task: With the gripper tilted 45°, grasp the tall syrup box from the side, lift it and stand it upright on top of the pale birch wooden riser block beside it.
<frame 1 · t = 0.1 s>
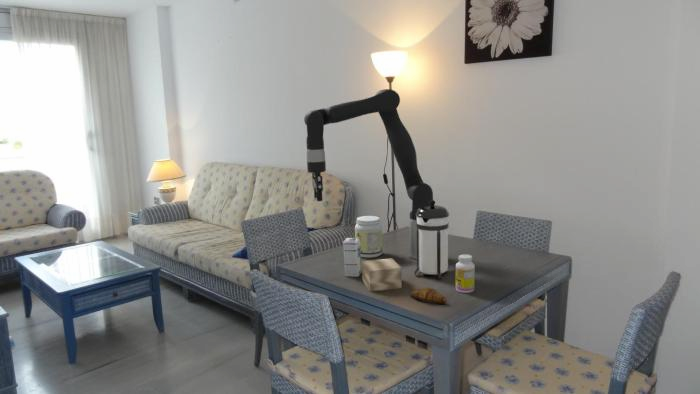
hand: (318, 199, 209), 29 cm above the table, tool pointing down, fingers open, 8 cm apart
coffee press: (432, 273, 202), on the table
syrup box: (352, 274, 203), on the table
supplement tub: (368, 254, 229), on the table
supplement bottle: (464, 290, 182), on the table
riser block: (381, 284, 191), on the table
croissant: (428, 301, 174), on the table
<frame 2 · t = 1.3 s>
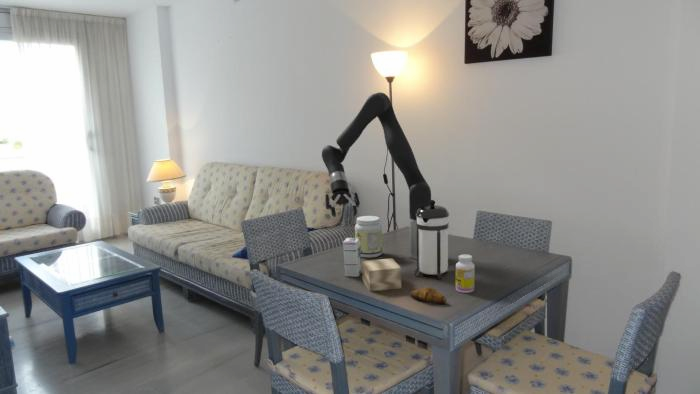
hand: (344, 215, 210), 22 cm above the table, tool tilted 45°, fingers open, 8 cm apart
nothing on the table moved.
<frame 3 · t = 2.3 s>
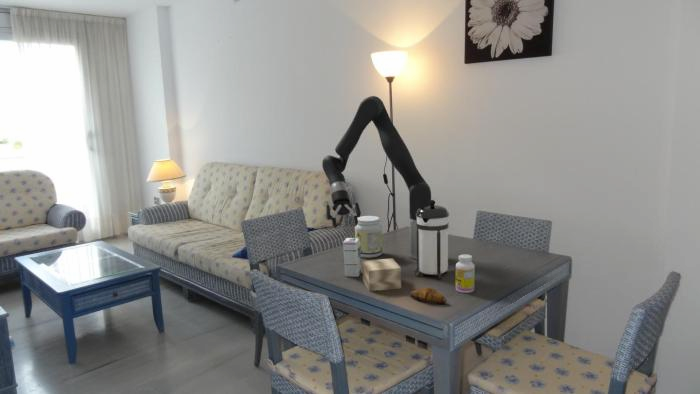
hand: (346, 226, 210), 18 cm above the table, tool tilted 45°, fingers open, 8 cm apart
nothing on the table moved.
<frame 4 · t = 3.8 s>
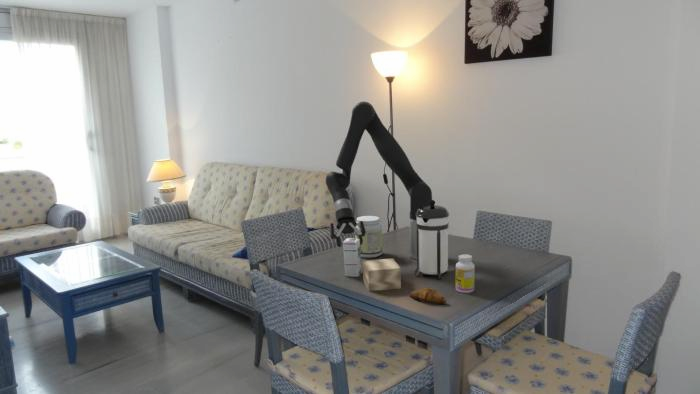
hand: (350, 245, 203), 11 cm above the table, tool tilted 45°, fingers open, 8 cm apart
nothing on the table moved.
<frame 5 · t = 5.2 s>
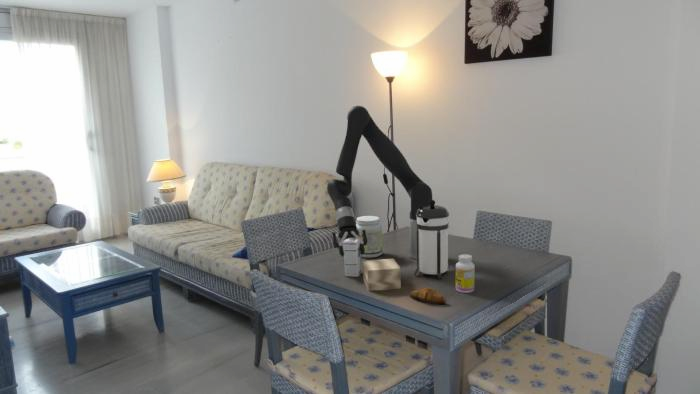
hand: (352, 254, 200), 9 cm above the table, tool tilted 45°, fingers closed on syrup box, 7 cm apart
syrup box: (352, 274, 203), on the table, touching gripper
everything else where it was.
when the fingers open (18 cm above the table, at t = 13.4 s): syrup box drops 2 cm, point 8 cm above the table.
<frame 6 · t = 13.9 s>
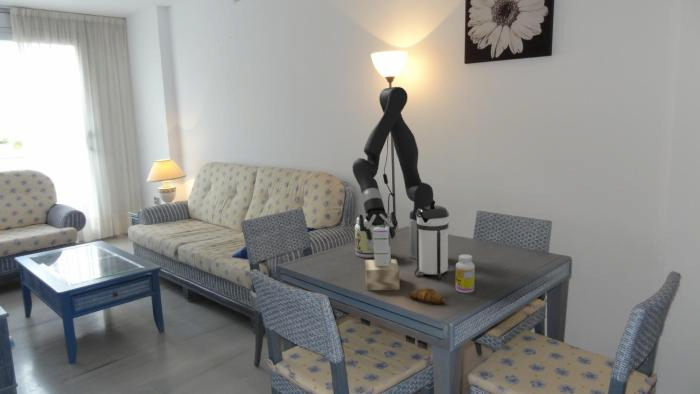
hand: (381, 238, 187), 18 cm above the table, tool tilted 45°, fingers open, 8 cm apart
syrup box: (382, 264, 190), point 8 cm above the table
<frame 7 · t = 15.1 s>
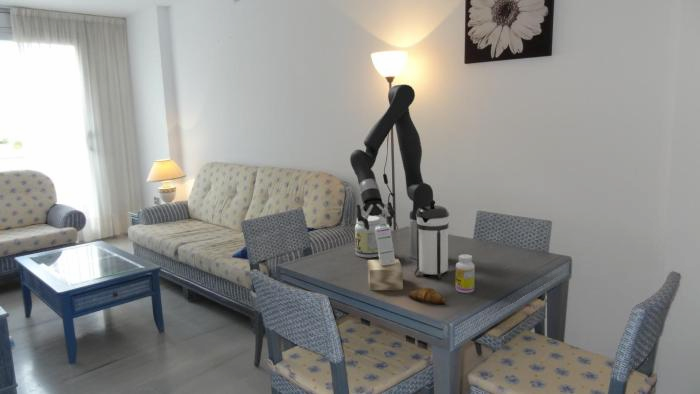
hand: (379, 227, 190), 21 cm above the table, tool tilted 45°, fingers open, 8 cm apart
syrup box: (387, 263, 190), point 8 cm above the table, touching riser block
riser block: (384, 284, 191), on the table, touching syrup box
everything else where it was.
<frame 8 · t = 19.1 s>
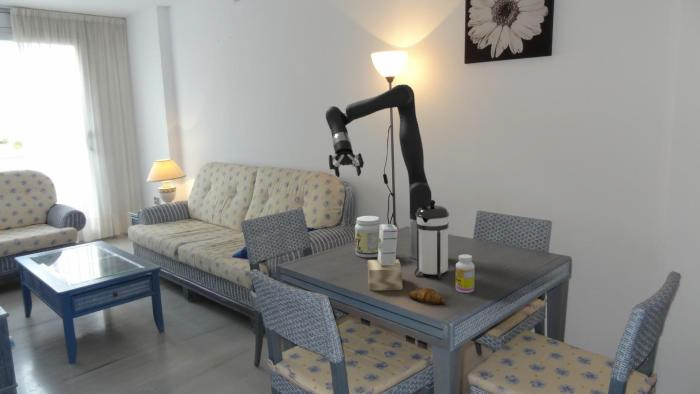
hand: (348, 175, 207), 39 cm above the table, tool tilted 45°, fingers open, 8 cm apart
at the end: syrup box inside the target area on the riser block (0.9 cm from its centre), point 8.3 cm above the riser block's base; syrup box tilted 7°; the gripper is holding nothing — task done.
